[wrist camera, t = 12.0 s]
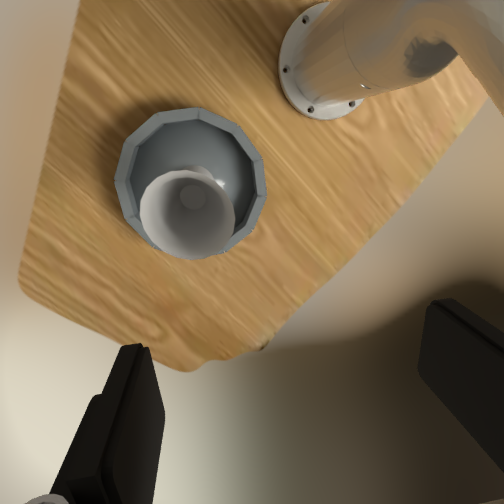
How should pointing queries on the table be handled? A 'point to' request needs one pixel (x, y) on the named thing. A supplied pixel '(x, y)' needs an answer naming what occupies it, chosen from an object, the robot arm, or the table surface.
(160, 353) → the table surface
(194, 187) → the chalice
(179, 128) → the bowl
